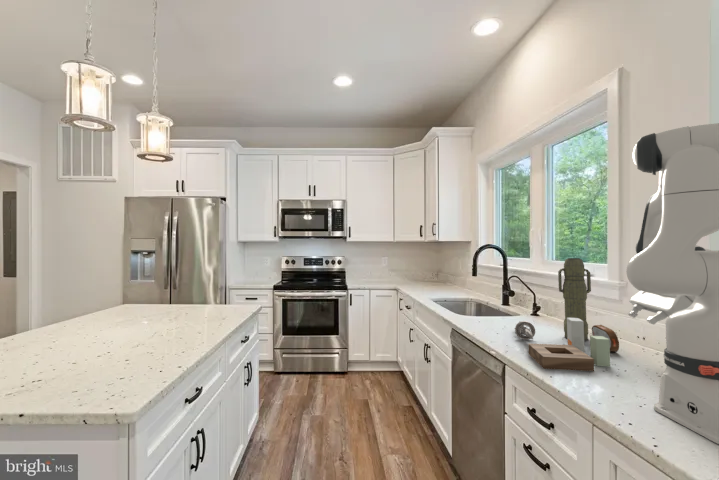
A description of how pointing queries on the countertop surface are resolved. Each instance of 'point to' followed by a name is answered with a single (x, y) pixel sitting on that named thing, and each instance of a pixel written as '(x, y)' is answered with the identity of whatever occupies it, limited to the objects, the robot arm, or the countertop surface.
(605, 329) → the tin
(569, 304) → the thermos
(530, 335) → the spaceship
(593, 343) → the green block
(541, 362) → the walnut holder
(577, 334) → the skincare box
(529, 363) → the countertop surface
